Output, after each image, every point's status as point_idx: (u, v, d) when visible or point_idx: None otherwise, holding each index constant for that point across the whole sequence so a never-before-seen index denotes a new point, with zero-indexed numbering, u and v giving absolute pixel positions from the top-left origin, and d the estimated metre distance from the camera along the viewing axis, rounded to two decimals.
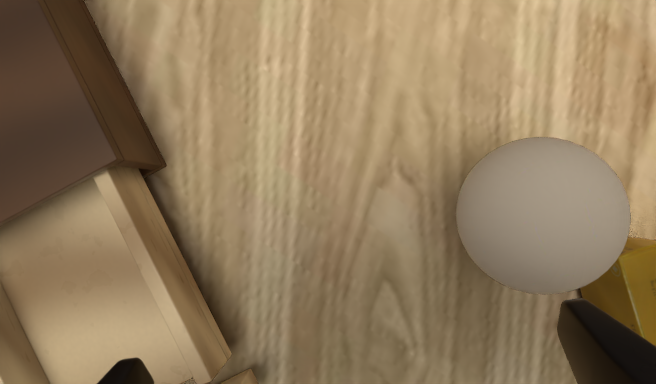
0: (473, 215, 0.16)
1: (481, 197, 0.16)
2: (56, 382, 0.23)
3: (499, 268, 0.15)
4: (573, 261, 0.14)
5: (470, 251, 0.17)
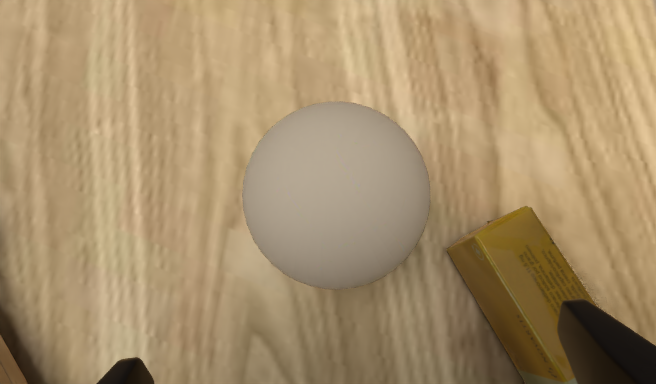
0: (244, 205, 0.13)
1: (245, 181, 0.13)
2: None
3: (281, 259, 0.12)
4: (342, 223, 0.11)
5: (262, 252, 0.14)
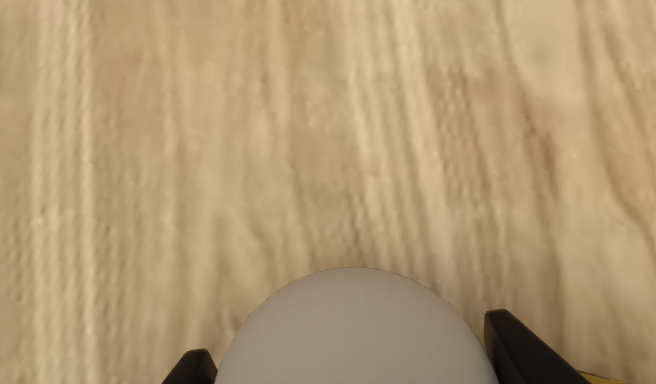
0: None
1: None
2: None
3: None
4: None
5: None
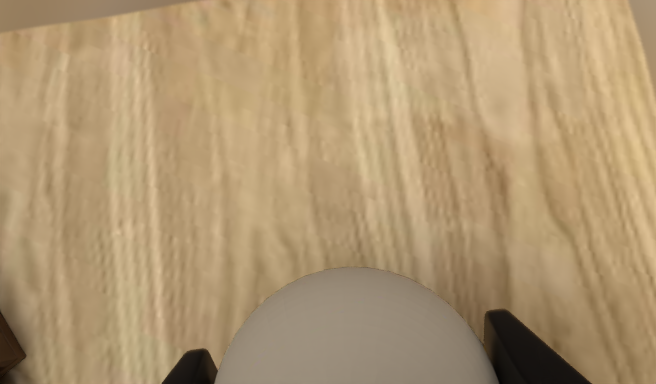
0: None
1: None
2: None
3: None
4: None
5: None
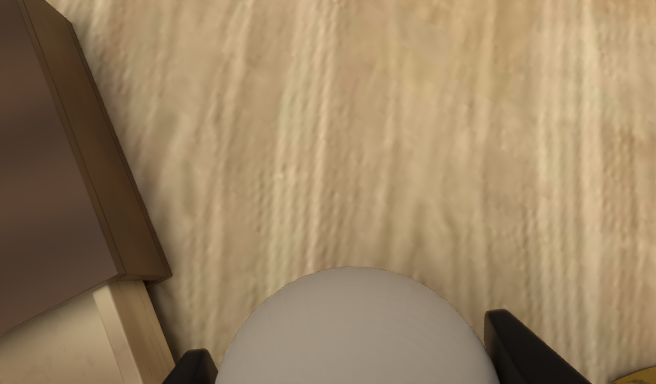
0: None
1: None
2: None
3: None
4: None
5: None
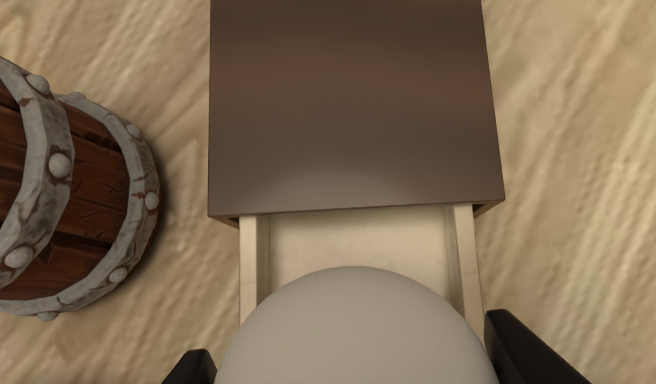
0: None
1: None
2: None
3: None
4: None
5: None
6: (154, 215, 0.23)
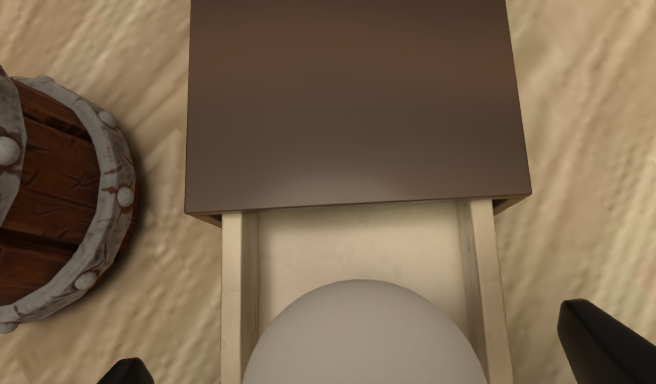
0: None
1: None
2: None
3: None
4: None
5: None
6: (129, 213, 0.20)
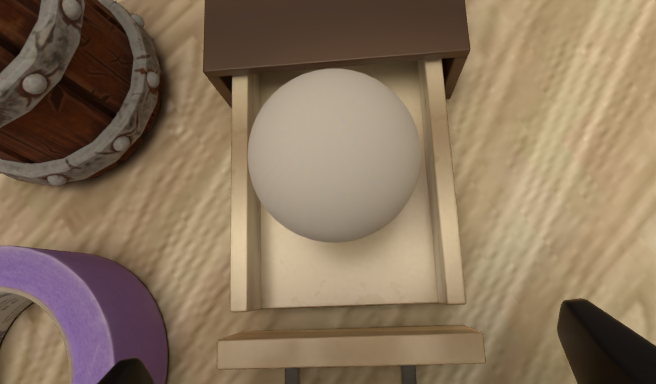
0: (249, 163, 0.14)
1: (250, 141, 0.14)
2: (267, 246, 0.22)
3: (284, 211, 0.14)
4: (339, 174, 0.12)
5: (265, 208, 0.15)
6: (155, 95, 0.25)
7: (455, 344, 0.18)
